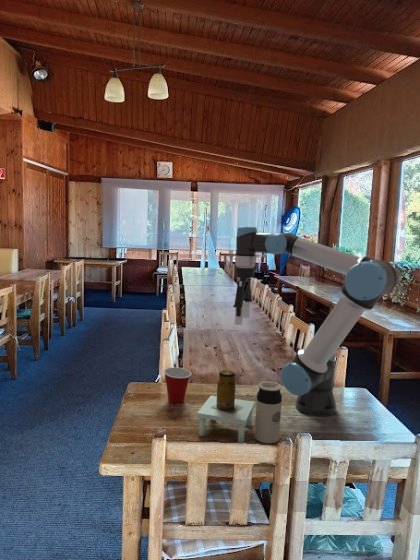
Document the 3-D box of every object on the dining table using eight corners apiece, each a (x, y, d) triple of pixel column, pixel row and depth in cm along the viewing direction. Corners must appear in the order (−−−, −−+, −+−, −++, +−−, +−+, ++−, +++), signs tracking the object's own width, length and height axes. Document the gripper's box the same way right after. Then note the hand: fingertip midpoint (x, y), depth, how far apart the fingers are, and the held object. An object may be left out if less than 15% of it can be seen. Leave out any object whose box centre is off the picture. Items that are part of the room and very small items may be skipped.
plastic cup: (186, 408, 167) (187, 377, 166) (159, 404, 169) (160, 374, 168) (193, 397, 178) (194, 368, 176) (167, 394, 180) (168, 365, 179)
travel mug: (250, 434, 148) (253, 382, 146) (270, 431, 152) (273, 379, 149) (262, 445, 141) (266, 391, 139) (283, 441, 144) (287, 388, 142)
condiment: (222, 401, 155) (224, 367, 154) (243, 407, 150) (245, 373, 149) (210, 407, 149) (212, 373, 148) (232, 414, 144) (234, 378, 143)
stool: (253, 423, 156) (255, 401, 155) (244, 444, 141) (245, 420, 140) (209, 416, 161) (210, 395, 160) (196, 436, 146) (197, 412, 145)
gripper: (242, 263, 185) (239, 314, 187) (227, 268, 161) (225, 326, 163) (260, 265, 183) (257, 316, 185) (248, 270, 159) (245, 328, 161)
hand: (242, 321), depth 174 cm, fingers open, 13 cm apart
